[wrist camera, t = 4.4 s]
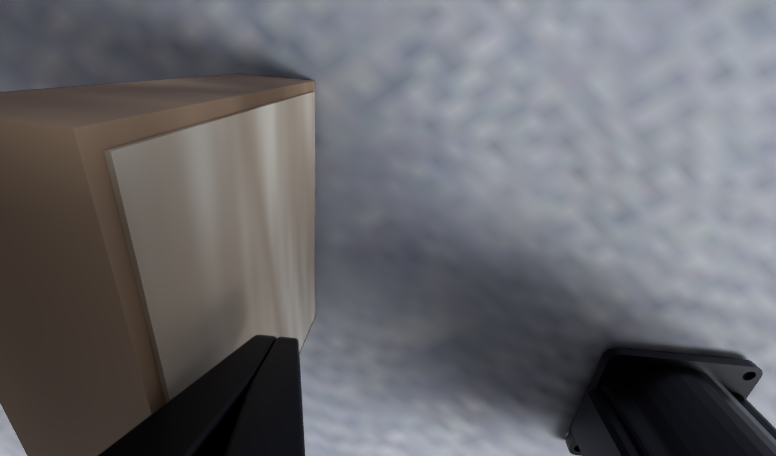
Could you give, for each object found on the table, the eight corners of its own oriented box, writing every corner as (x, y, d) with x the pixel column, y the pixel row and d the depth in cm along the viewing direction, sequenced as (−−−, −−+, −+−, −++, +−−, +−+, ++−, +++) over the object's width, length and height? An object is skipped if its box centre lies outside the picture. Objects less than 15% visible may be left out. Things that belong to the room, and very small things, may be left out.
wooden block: (317, 81, 12) (80, 129, 4) (317, 316, 16) (203, 587, 8) (237, 73, 12) (-162, 102, 4) (257, 309, 16) (82, 568, 8)
